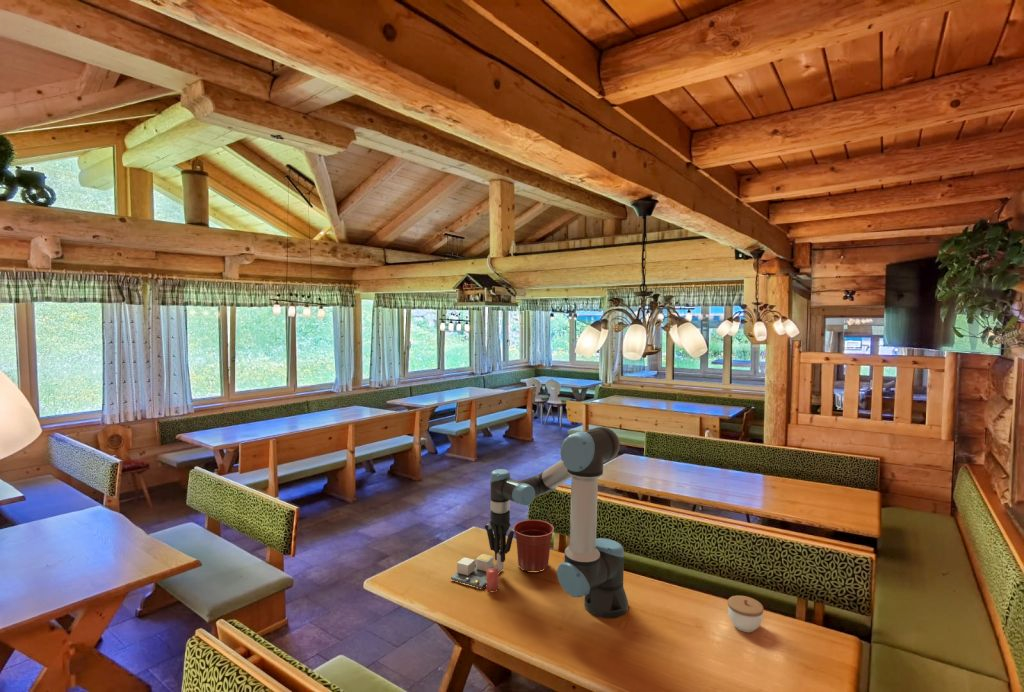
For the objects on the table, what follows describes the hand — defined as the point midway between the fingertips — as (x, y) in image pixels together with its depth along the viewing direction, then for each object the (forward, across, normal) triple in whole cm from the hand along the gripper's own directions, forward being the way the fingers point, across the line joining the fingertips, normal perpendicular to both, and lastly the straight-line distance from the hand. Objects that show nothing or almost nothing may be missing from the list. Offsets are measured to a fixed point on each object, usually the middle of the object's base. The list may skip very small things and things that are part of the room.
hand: (500, 568), depth 203 cm
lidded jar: (+3, -87, -10) cm, 88 cm away
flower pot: (+3, -8, -14) cm, 16 cm away
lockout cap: (+3, -2, +10) cm, 10 cm away
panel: (+3, +8, +4) cm, 9 cm away
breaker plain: (+1, +12, +6) cm, 13 cm away
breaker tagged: (+1, +7, 0) cm, 7 cm away
